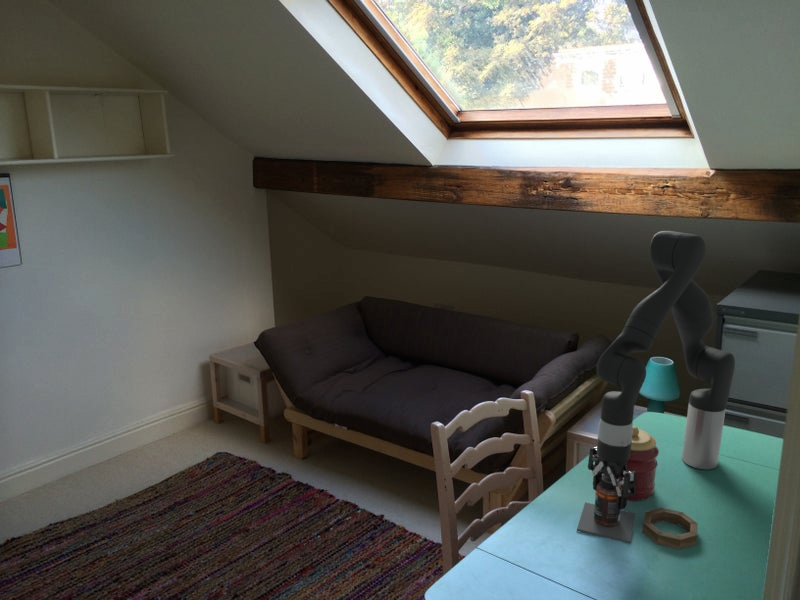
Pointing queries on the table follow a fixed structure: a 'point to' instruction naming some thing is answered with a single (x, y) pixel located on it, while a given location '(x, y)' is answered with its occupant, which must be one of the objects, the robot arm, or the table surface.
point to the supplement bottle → (606, 503)
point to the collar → (668, 538)
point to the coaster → (611, 532)
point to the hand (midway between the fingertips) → (608, 498)
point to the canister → (642, 464)
